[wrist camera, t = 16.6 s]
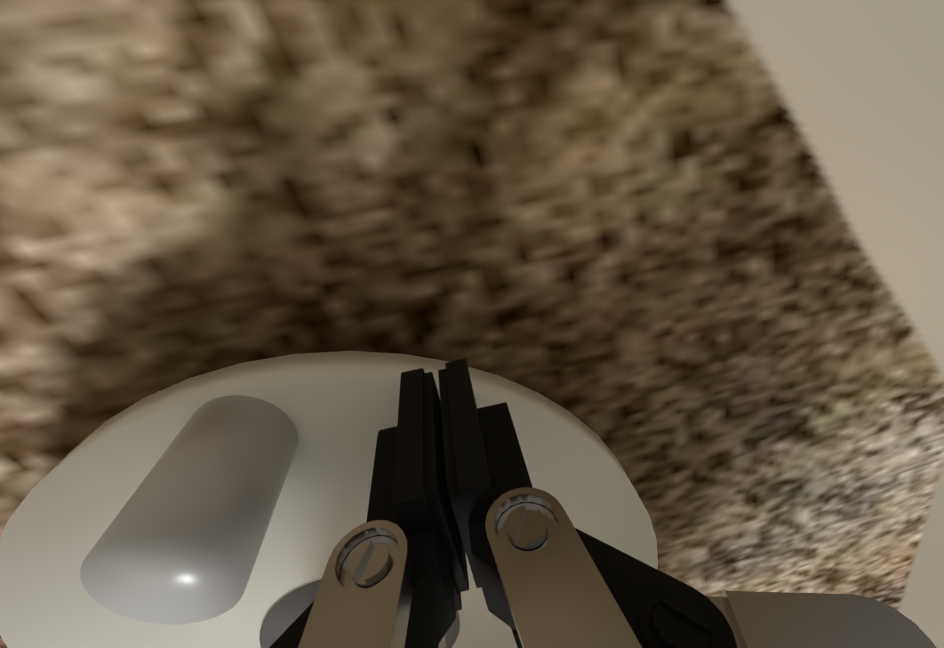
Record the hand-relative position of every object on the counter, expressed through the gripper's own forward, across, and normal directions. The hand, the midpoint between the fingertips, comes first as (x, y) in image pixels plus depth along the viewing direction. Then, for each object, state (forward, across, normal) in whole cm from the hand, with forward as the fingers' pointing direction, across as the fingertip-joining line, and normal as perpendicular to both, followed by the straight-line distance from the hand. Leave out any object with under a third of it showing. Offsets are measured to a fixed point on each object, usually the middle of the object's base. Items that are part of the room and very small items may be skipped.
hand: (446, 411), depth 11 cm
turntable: (+5, +6, +11) cm, 13 cm away
